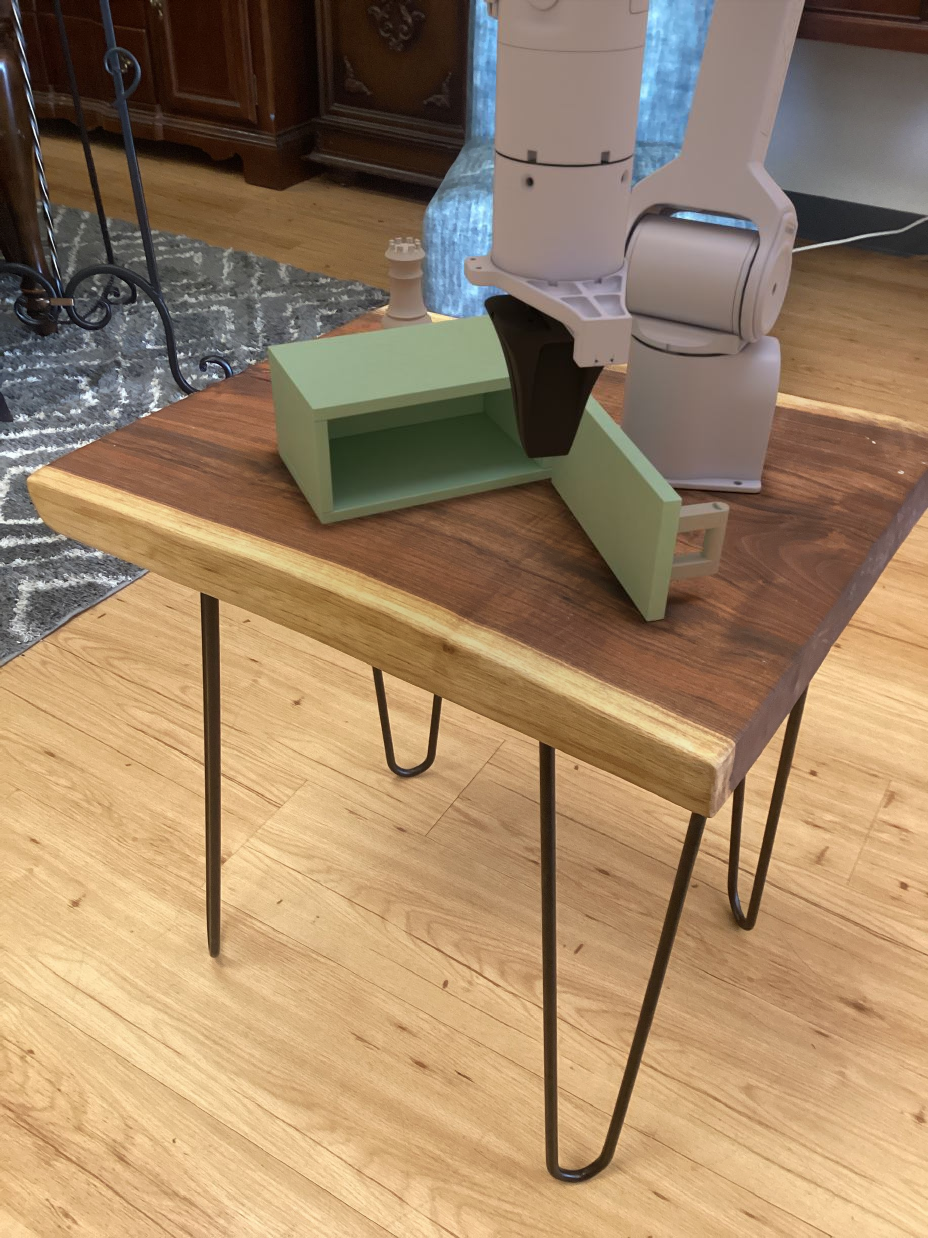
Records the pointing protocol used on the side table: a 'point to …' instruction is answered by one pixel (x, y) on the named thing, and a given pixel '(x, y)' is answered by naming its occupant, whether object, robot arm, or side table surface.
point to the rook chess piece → (405, 285)
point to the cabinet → (398, 417)
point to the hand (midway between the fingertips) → (545, 450)
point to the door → (634, 512)
